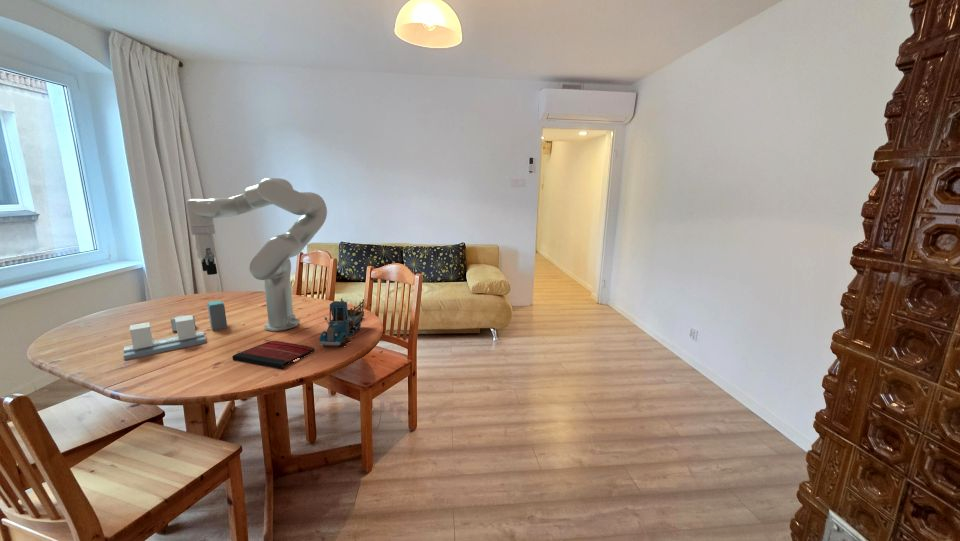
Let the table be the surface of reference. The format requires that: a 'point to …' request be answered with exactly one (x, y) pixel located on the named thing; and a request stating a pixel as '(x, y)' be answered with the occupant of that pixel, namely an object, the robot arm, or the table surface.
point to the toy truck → (341, 323)
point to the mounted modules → (144, 336)
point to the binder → (273, 354)
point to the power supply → (175, 322)
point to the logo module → (217, 315)
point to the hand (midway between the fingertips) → (210, 272)
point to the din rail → (163, 342)
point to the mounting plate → (163, 347)
